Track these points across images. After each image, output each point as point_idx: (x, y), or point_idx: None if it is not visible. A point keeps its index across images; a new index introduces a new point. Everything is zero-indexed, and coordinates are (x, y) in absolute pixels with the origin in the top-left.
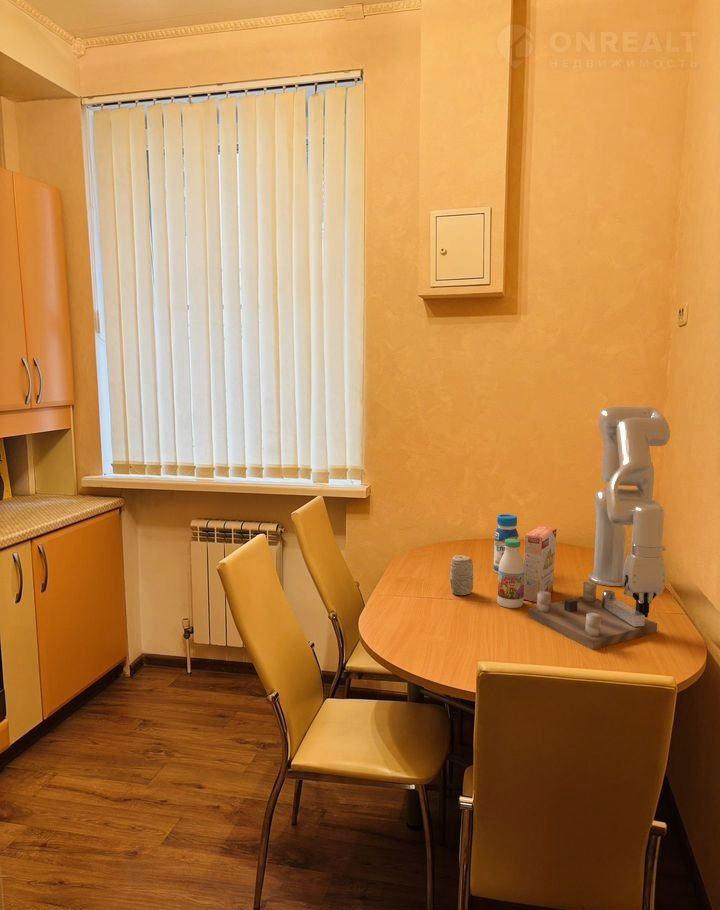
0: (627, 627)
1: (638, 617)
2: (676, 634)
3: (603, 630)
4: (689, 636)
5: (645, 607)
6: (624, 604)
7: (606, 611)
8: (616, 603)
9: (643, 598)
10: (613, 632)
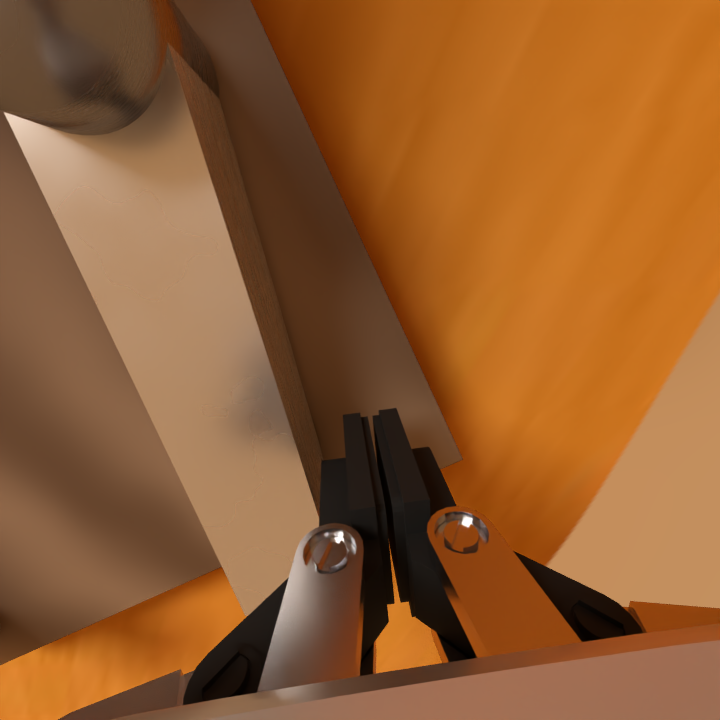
0: None
1: None
2: (543, 443)
3: (31, 576)
4: (595, 464)
5: (393, 564)
6: (239, 357)
7: None
8: (140, 326)
9: (424, 577)
10: (98, 595)
